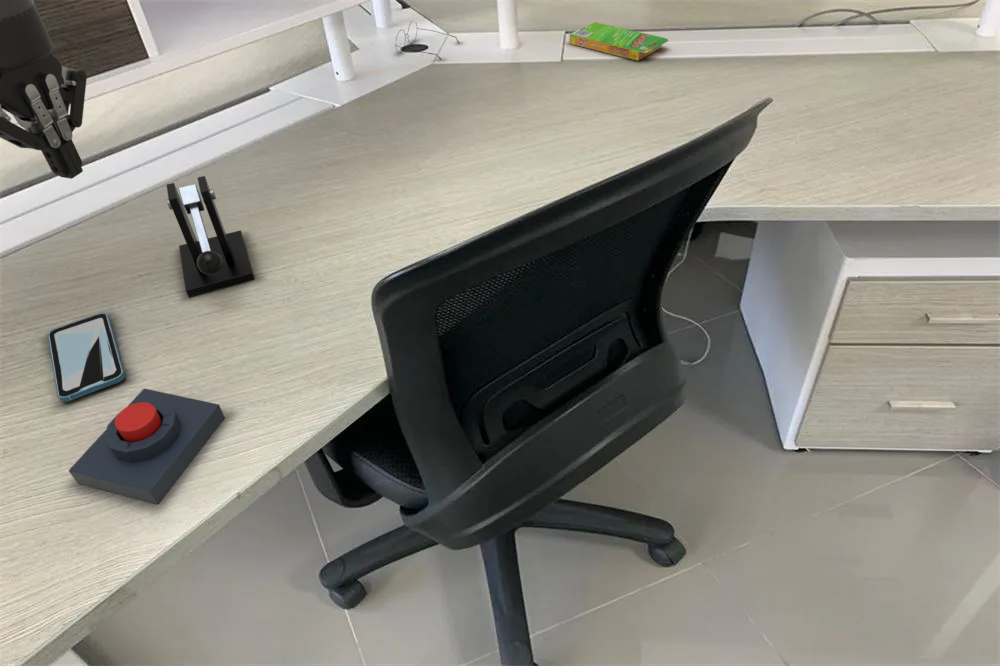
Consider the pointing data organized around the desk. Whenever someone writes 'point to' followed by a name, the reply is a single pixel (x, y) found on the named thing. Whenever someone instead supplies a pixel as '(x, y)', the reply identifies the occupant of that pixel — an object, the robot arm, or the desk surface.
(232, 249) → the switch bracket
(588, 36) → the game box
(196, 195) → the switch lever
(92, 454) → the button block
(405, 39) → the eyeglasses
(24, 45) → the robot arm
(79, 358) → the smartphone
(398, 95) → the desk surface
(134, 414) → the button
